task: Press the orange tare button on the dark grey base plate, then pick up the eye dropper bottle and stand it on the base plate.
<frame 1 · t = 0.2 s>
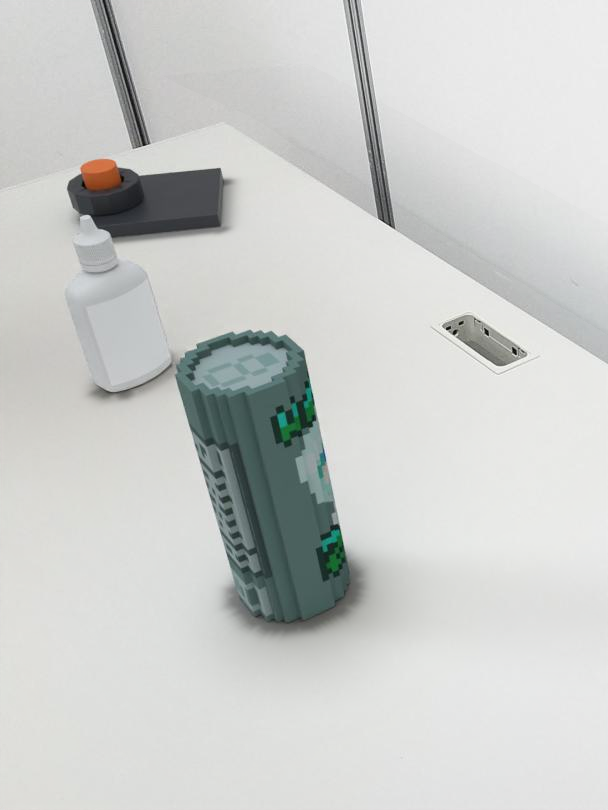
eye dropper bottle: (135, 376, 90), on the table
dark grey base plate: (159, 209, 110), on the table
tare button: (101, 175, 107), point 3 cm above the table, slide at 0.1 cm
can: (295, 588, 72), on the table
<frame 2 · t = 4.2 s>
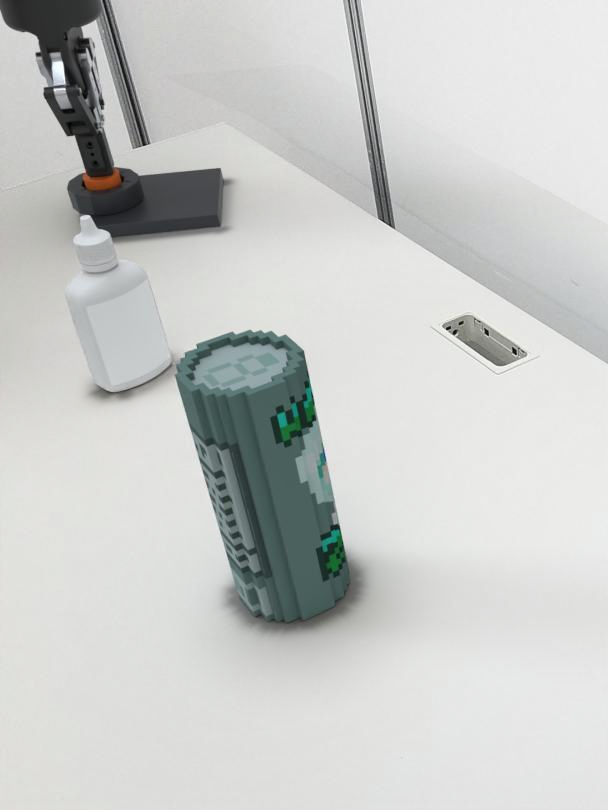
hand: (101, 173, 107), 4 cm above the table, tool pointing down, fingers closed
tare button: (103, 183, 107), point 3 cm above the table, slide at -0.6 cm, touching gripper
everything else where it was.
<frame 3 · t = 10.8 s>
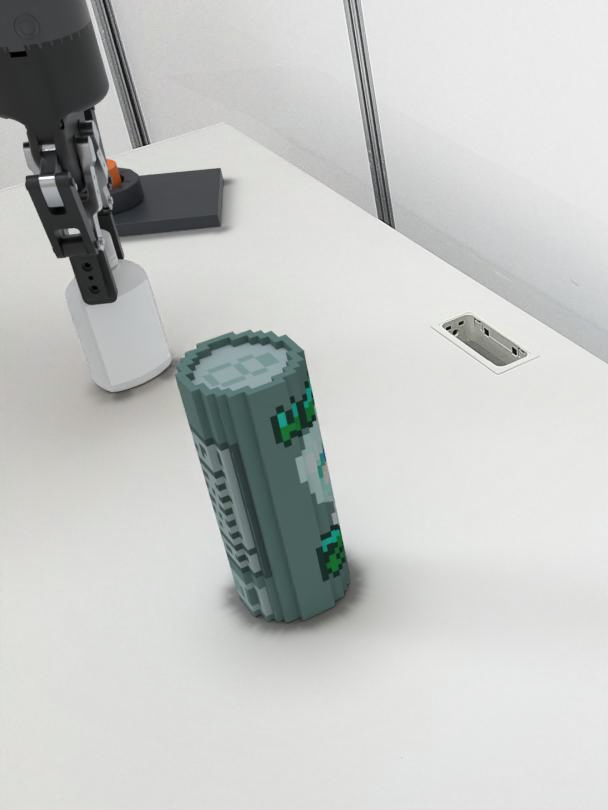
hand: (105, 281, 84), 7 cm above the table, tool pointing down, fingers closed on eye dropper bottle, 4 cm apart
eye dropper bottle: (135, 376, 90), on the table, touching gripper
tare button: (101, 175, 107), point 3 cm above the table, slide at 0.1 cm
everything else where it was.
when the fingers open (9 cm above the table, at t = 18.8 s): eye dropper bottle stays where it is, resting on dark grey base plate.
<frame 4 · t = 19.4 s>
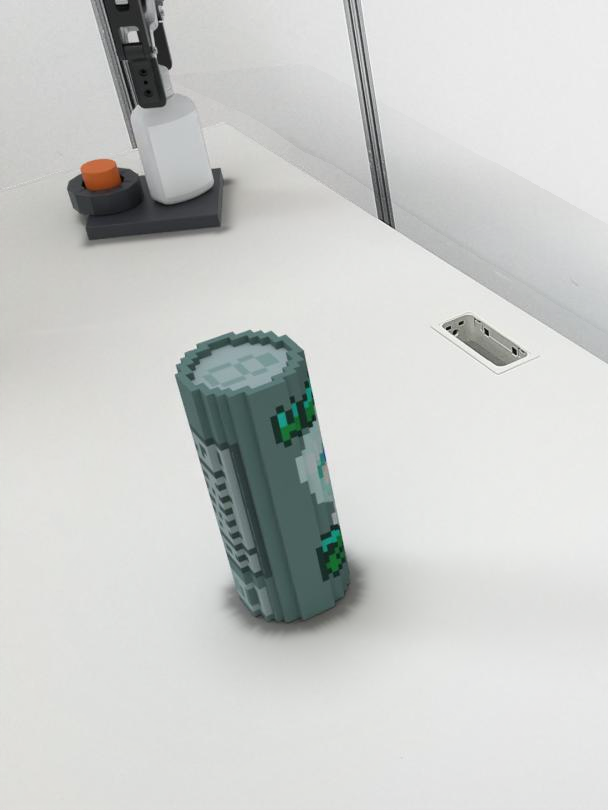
hand: (157, 87, 103), 10 cm above the table, tool pointing down, fingers open, 8 cm apart
eye dropper bottle: (184, 195, 109), point 1 cm above the table, touching dark grey base plate
everything else where it was.
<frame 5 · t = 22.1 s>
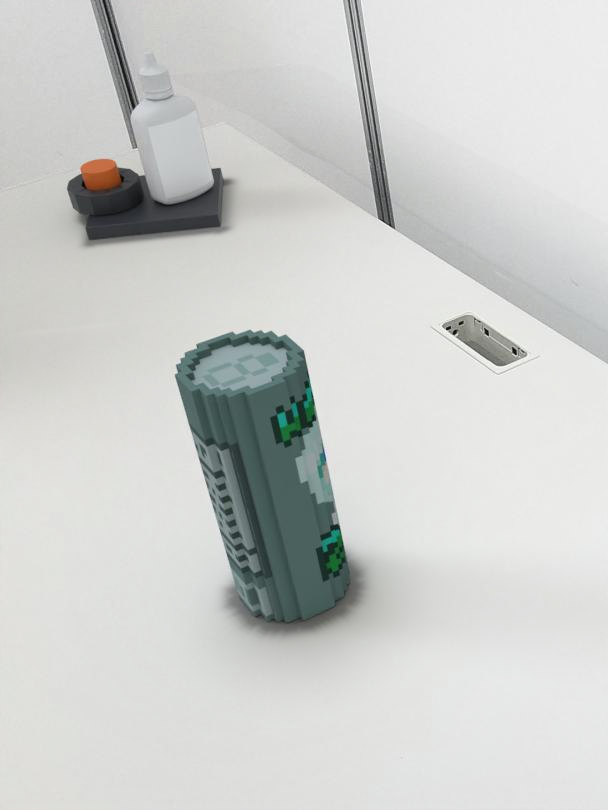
nothing on the table moved.
at the end: tare button pushed in 1.1 cm at the most during the clip, back to where it started at the end; eye dropper bottle inside the target area on the dark grey base plate (0.1 cm from its centre), point 1.0 cm above the dark grey base plate's base; eye dropper bottle tilted 0° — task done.
